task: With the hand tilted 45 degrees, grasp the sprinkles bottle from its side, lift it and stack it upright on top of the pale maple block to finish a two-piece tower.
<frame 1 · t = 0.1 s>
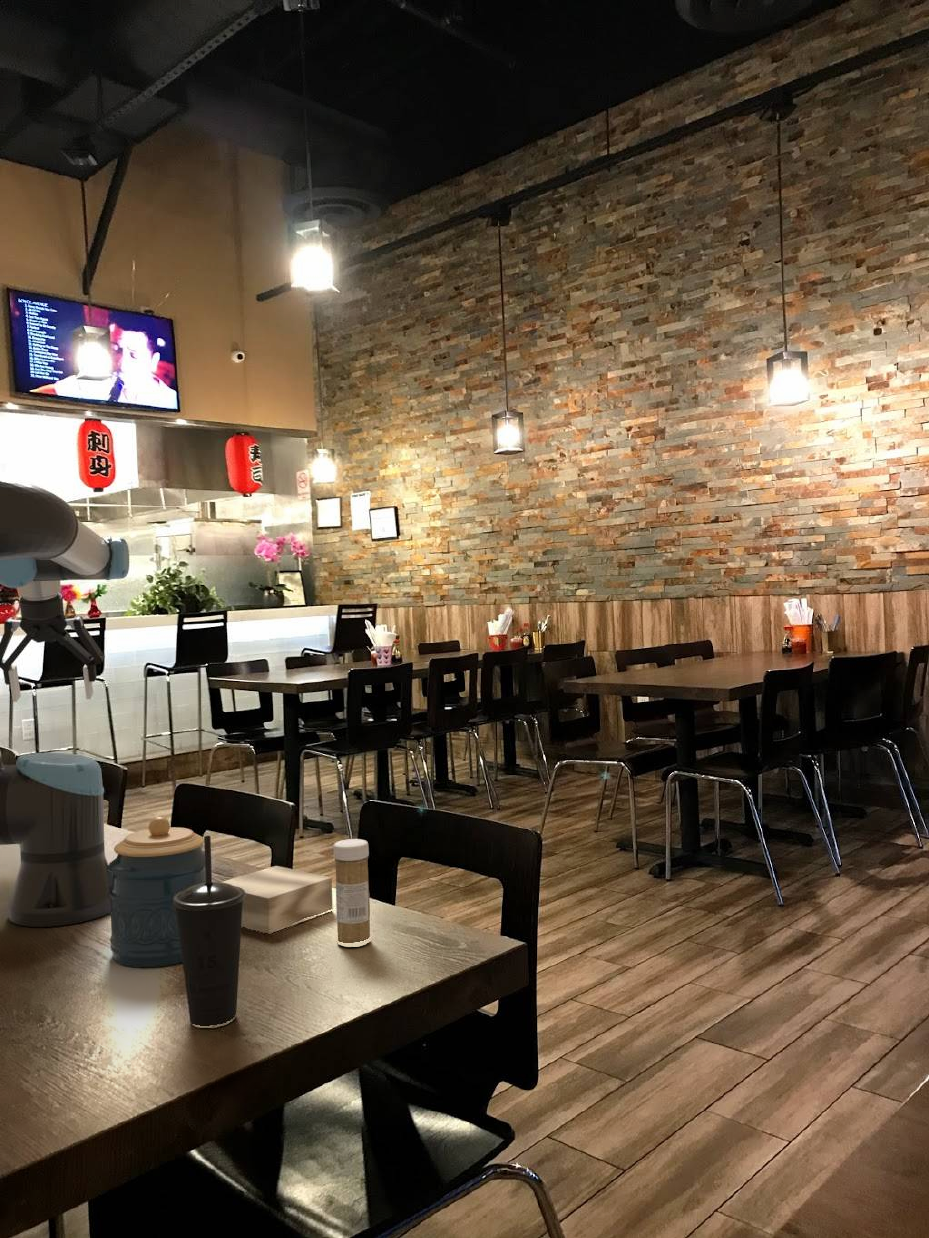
hand: (53, 697, 193), 28 cm above the table, tool tilted 20°, fingers open, 13 cm apart
maple block: (273, 915, 143), on the table
sprinkles bottle: (353, 944, 130), on the table
drinking cup: (213, 1021, 107), on the table
canister: (163, 952, 129), on the table
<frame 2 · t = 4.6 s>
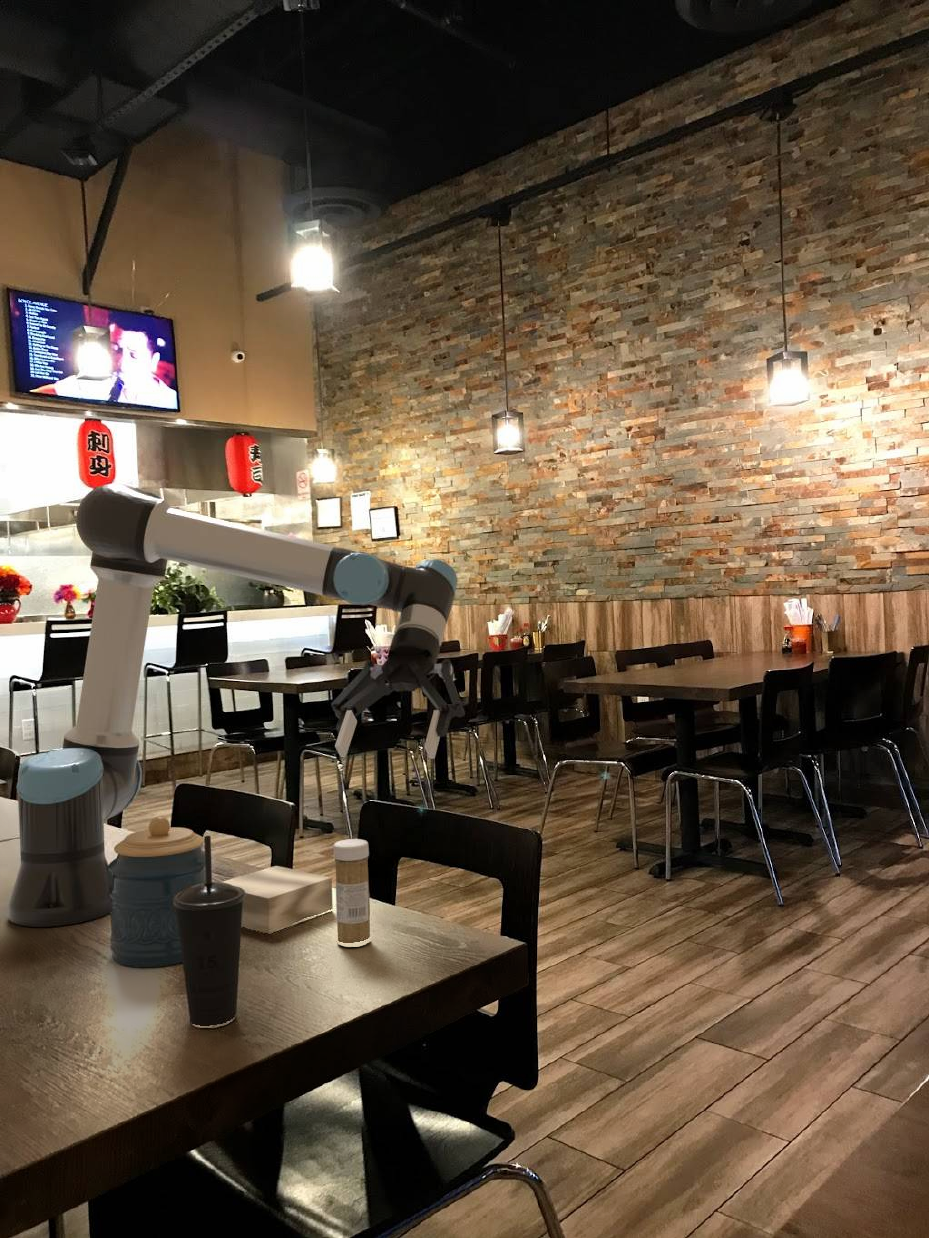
hand: (384, 752, 140), 24 cm above the table, tool tilted 45°, fingers open, 13 cm apart
nothing on the table moved.
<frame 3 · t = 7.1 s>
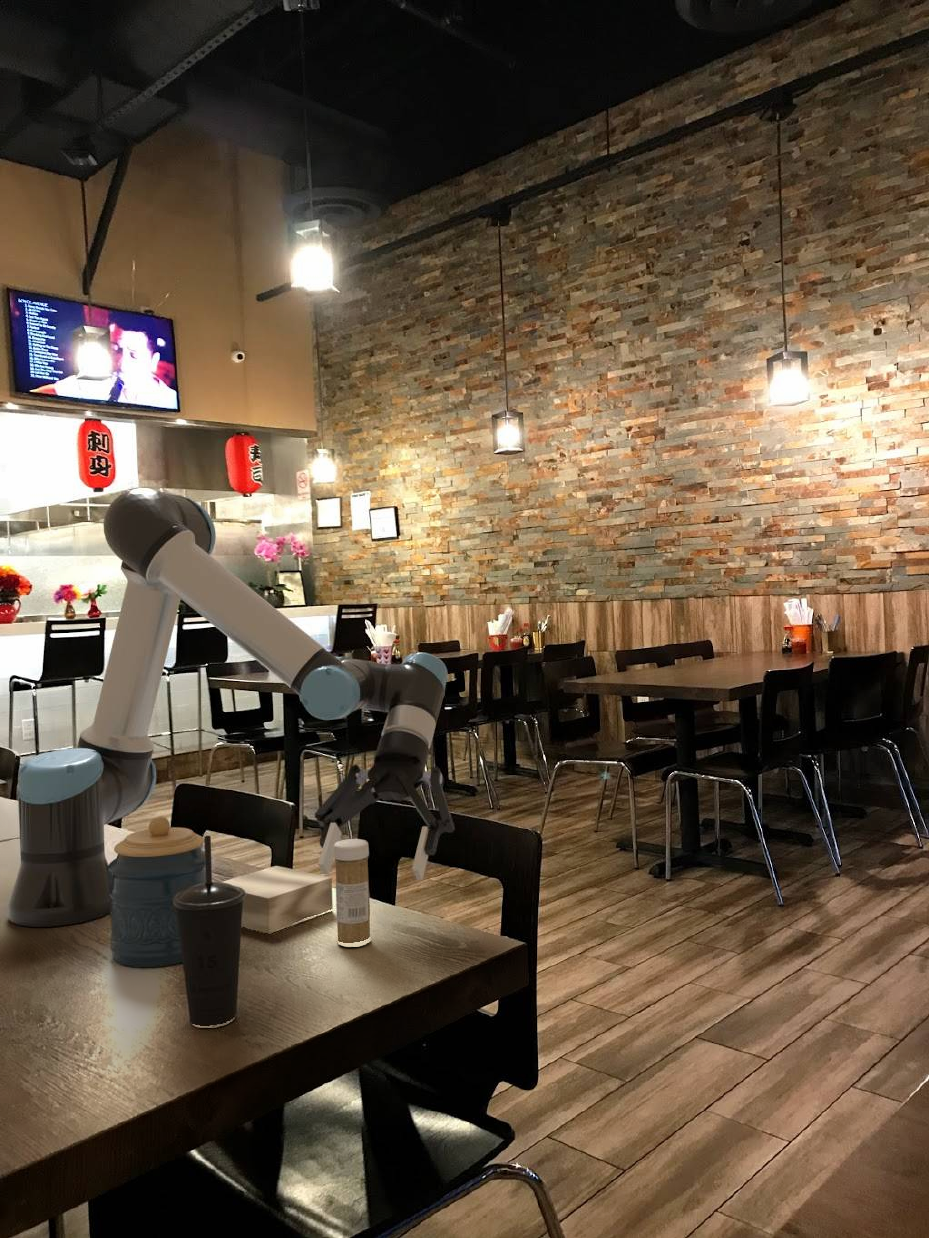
hand: (369, 872, 133), 9 cm above the table, tool tilted 45°, fingers open, 13 cm apart
nothing on the table moved.
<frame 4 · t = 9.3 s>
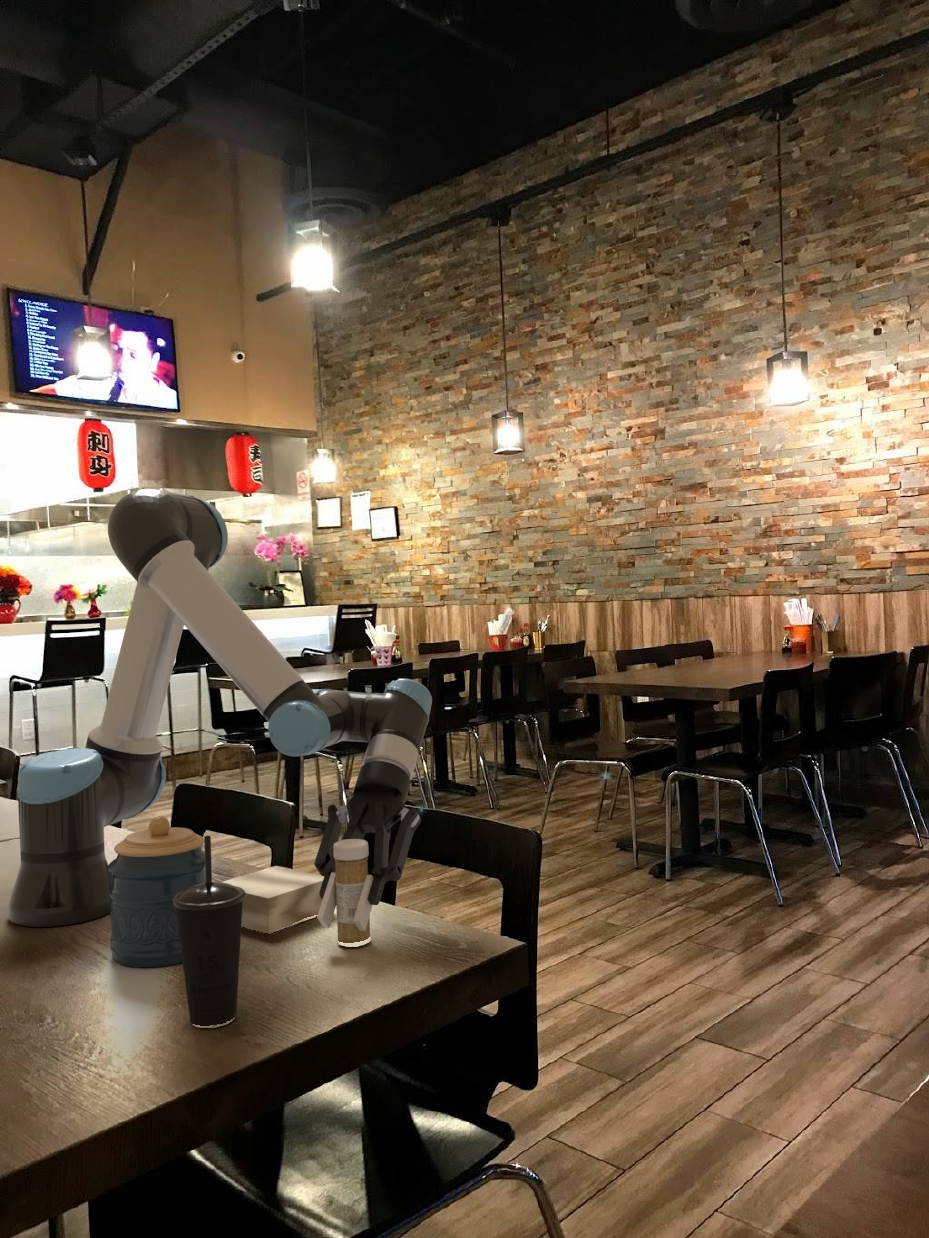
hand: (341, 924, 127), 4 cm above the table, tool tilted 45°, fingers closed on sprinkles bottle, 4 cm apart
sprinkles bottle: (353, 944, 130), on the table, touching gripper
everything else where it was.
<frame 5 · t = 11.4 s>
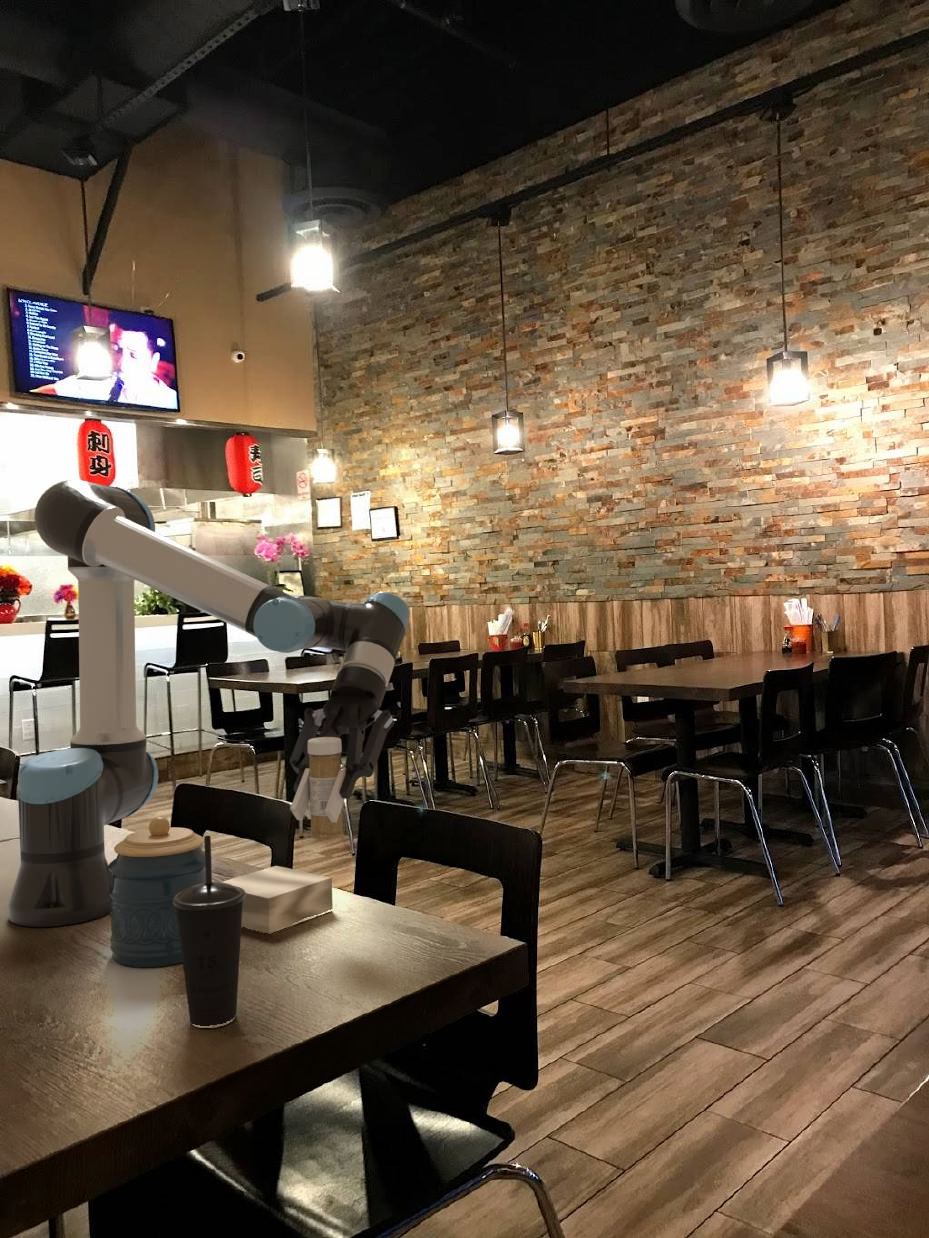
hand: (313, 815, 131), 17 cm above the table, tool tilted 45°, fingers closed on sprinkles bottle, 4 cm apart
sprinkles bottle: (326, 838, 135), point 13 cm above the table, touching gripper
everything else where it was.
when the fingers open (9 cm above the table, at t = 13.8 s): sprinkles bottle stays where it is, resting on maple block.
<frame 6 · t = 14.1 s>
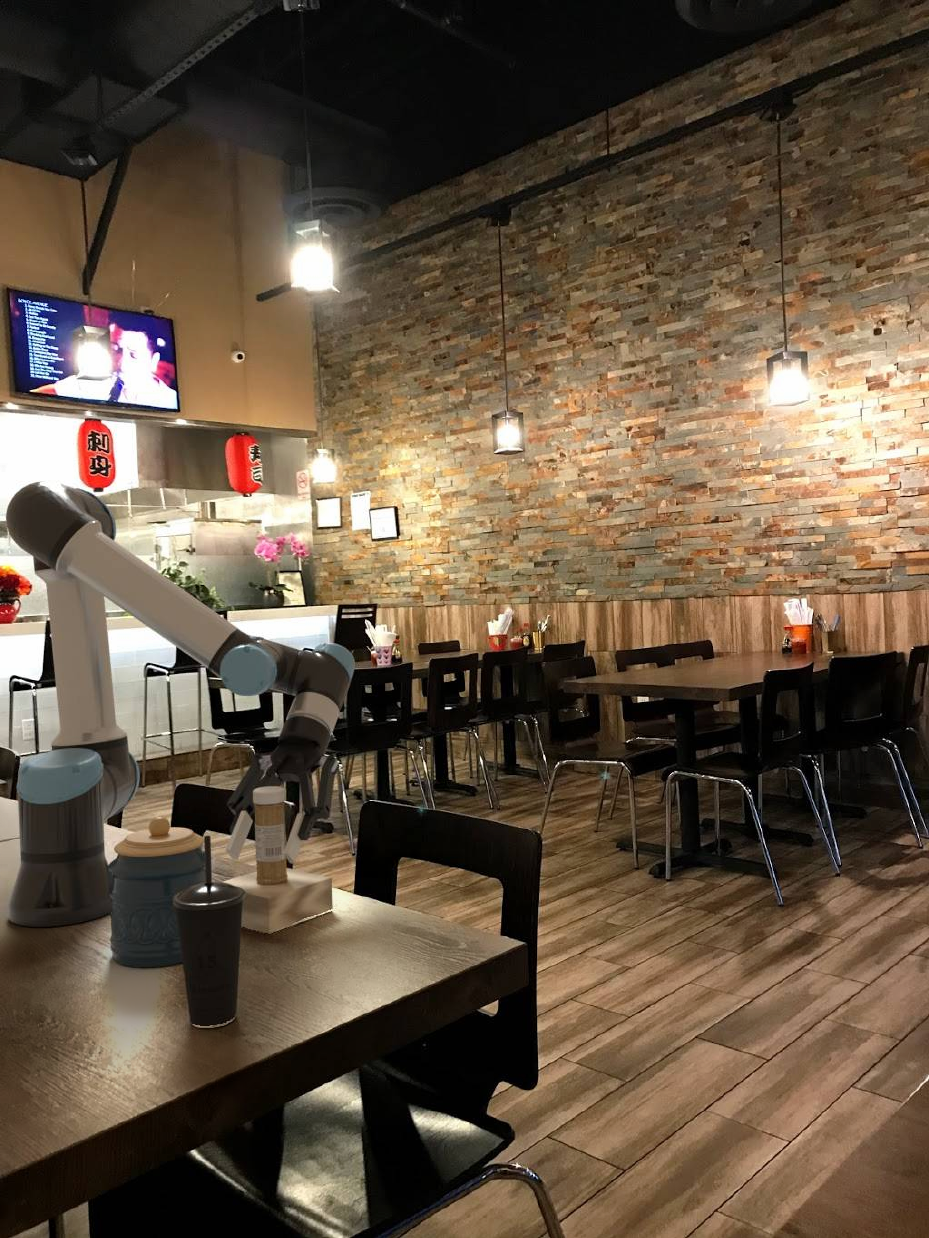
hand: (260, 856, 140), 9 cm above the table, tool tilted 45°, fingers open, 8 cm apart
sprinkles bottle: (271, 882, 143), point 5 cm above the table, touching maple block
everything else where it was.
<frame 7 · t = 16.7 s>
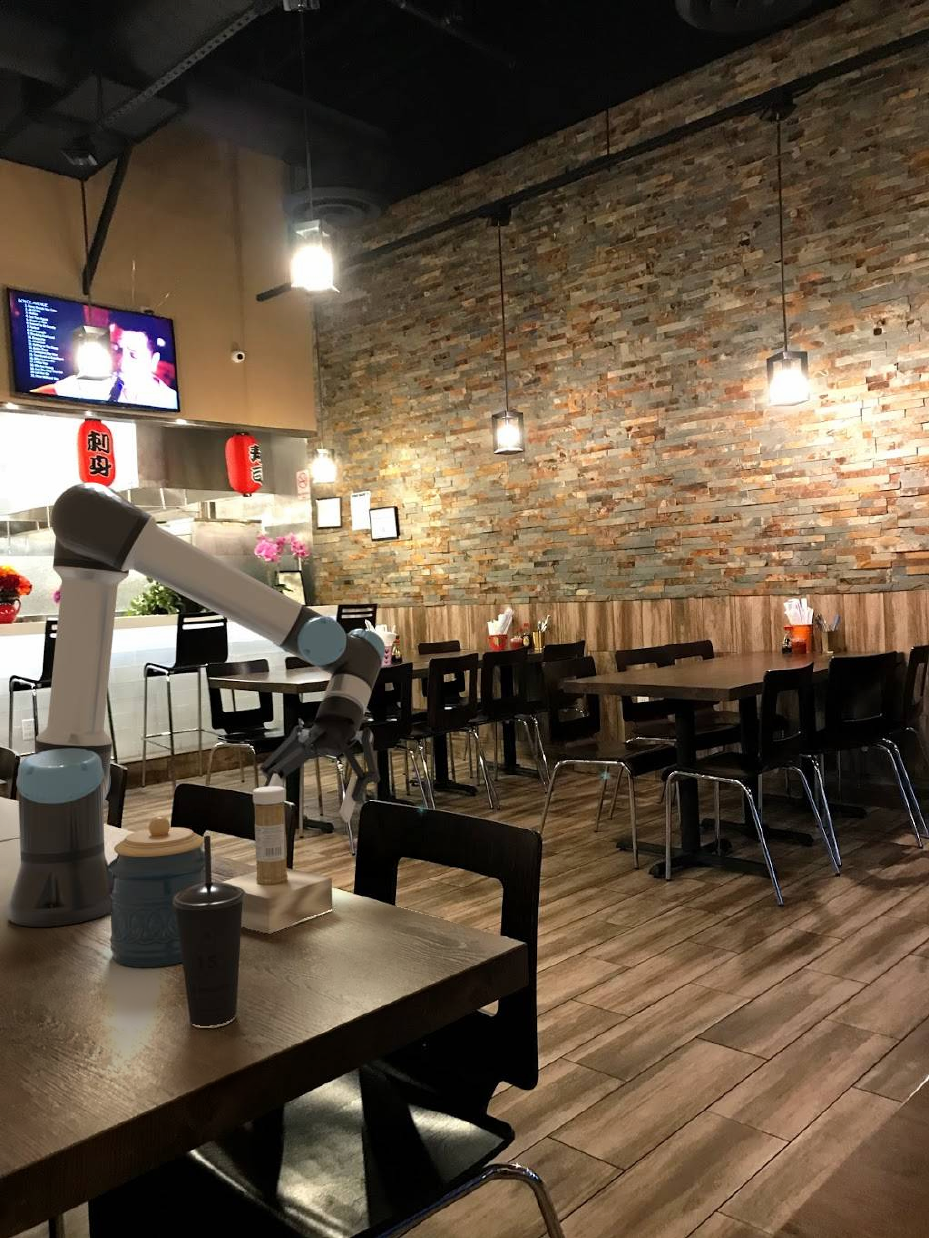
hand: (304, 815, 153), 12 cm above the table, tool tilted 45°, fingers open, 13 cm apart
nothing on the table moved.
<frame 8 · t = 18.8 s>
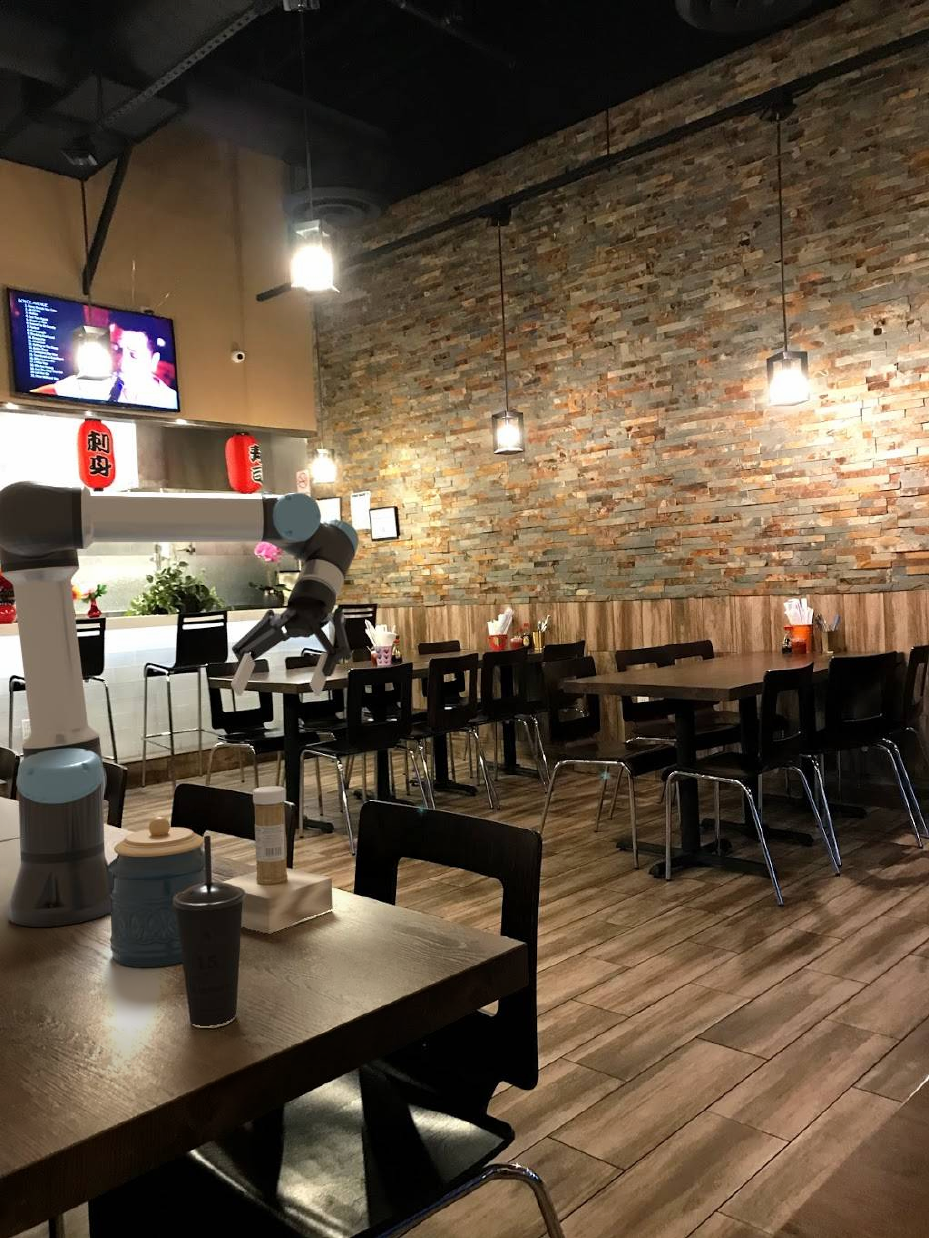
hand: (274, 690, 153), 32 cm above the table, tool tilted 45°, fingers open, 13 cm apart
nothing on the table moved.
at the end: sprinkles bottle 0.2 cm from the maple block (horizontally); sprinkles bottle point 4.8 cm above the table; sprinkles bottle tilted 0° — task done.
